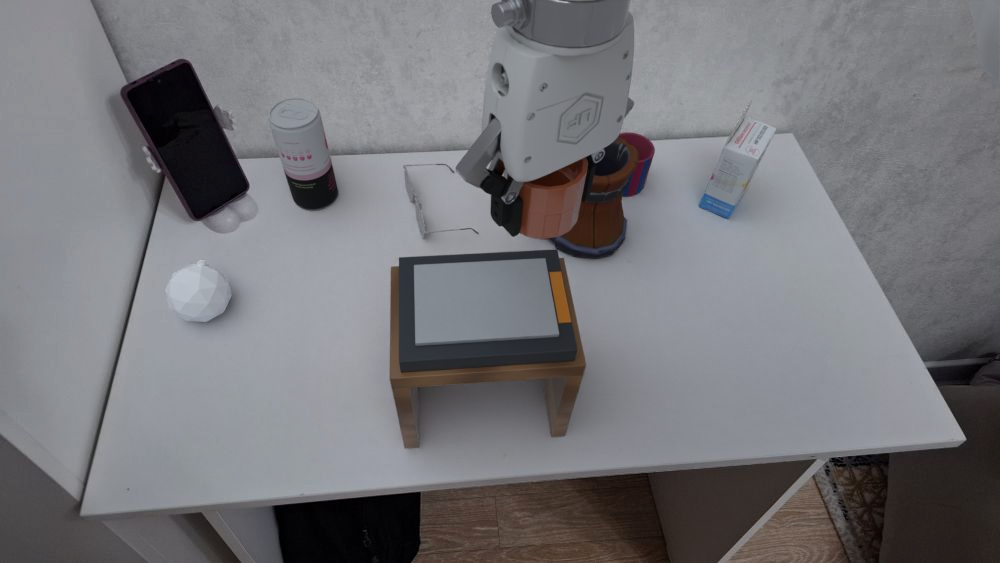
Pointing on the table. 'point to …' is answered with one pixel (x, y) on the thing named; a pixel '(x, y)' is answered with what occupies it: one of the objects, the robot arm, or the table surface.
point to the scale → (483, 311)
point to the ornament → (198, 292)
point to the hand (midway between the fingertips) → (540, 206)
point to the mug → (603, 206)
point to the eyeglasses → (419, 205)
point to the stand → (484, 375)
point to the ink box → (736, 164)
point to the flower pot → (552, 201)
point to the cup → (645, 160)
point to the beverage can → (303, 152)
